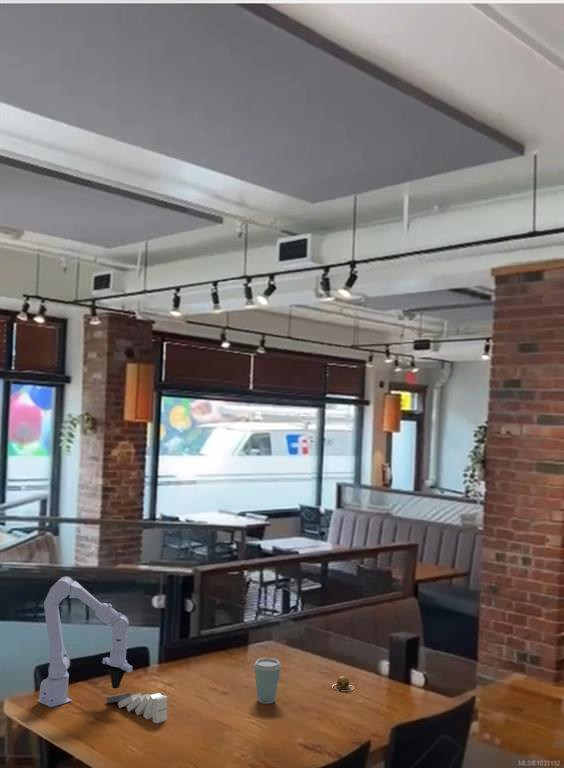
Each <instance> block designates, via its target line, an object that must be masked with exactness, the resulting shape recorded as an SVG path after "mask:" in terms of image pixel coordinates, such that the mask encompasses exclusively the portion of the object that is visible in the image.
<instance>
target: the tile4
mask: <svg viewBox="0 0 564 768" xmlns="http://www.w3.org/2000/svg"><path fill="white" fill-rule="evenodd" d="M154 694H156V693H155V692H154V693H151V694H149V695H147V696H145V697H144V699H143V700H142V701H141V703H140V704H139V706H138V707H137V708H136V710H134V712H135V713H136V716H140V715H144V712H145V709H146V706H147V703H148V700H149V697H150V696H151V695H154Z"/></svg>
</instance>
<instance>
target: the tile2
mask: <svg viewBox="0 0 564 768" xmlns="http://www.w3.org/2000/svg"><path fill="white" fill-rule="evenodd" d="M142 695H143V694H142V692H139V693H135V694H132V695H131V696H130V697H128V698H126V699H124V700H122V701H118V702H117V705H118V707H119V709H122V708H124V707H126V706H128V705H129V704H130V703H131V702H133V701H134V700H135V699H136V698H138V697H139V696H142Z"/></svg>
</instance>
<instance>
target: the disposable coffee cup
mask: <svg viewBox="0 0 564 768" xmlns="http://www.w3.org/2000/svg"><path fill="white" fill-rule="evenodd" d="M253 668H254V674H255V675H254V676H255V685H256V696H257V697H256V698H257V702H259V703H260V704H265V705H267V704H273V703H275V700H276V695H277V691H278V690H277V689H278V684H279V679H280V673H281V672H280V671H281V669H282V667H281V663H280V660H278V659H276V658H273V657H262V658H258V659H257V660H255V662H254V663H253Z"/></svg>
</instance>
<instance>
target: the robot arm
mask: <svg viewBox="0 0 564 768" xmlns="http://www.w3.org/2000/svg"><path fill="white" fill-rule="evenodd" d="M68 596H69V597H68ZM67 597H68V598H69V599H78V600H80V601H81V602H82V603H84V604H86V605H87V606H88V607H89V608H91V610H94V613H95V617H96V618H98V619H99V620H101V622H103V623H105V624H104V625H107V626H108V627H110V628H111V631H112V635H111V638H110V639H111V641H110V655H109V657H107V656H106V657H103V658H102V664H103V665H108V666H110V667H108V668H107V672H108V674H109V677H110V680H111V686H112V687H111V688H112V689H115V690H116V689H119V688H120V685H121V682H122V680H123V677H124V675H125V673H126V672H127V673H132V672H133V665H131V664H129V663H128V660H127V658H126V657H127V647H128V629H129V624H130V623H129V622H130V621H129V618H128V617H127V616H126V615H124V614H122V612H118V611H117V610H115V609H114V608H113V605H112V604H111V603H106V602H100V601H99V600H98V599H97V598H96V597H94V595H92V594H91V593H90V592H89V591H88V590H87V589H86V588H84V587H83V586H82V585H81V584H80V583H79V582H78V581H76V580H73V578H72V577H70V576H62V577H60V579H58V580H57V581H56V582H55V583H54V584H53V585H52V586H51V587H50V588H49V591H48V593H47V595H46V597H45V600H44V602H43V607H44V608H43V609H44V616H45V623H46V630H47V637H48V645H49V650H50V651H49V652H50V653H49V666H48V676H47V677H46V678H45V679H43V680H42V681H41V682H40V686H39V697H38V700H37V702H38V703H40V704H42V705H45V706H47V707H49V708H53V707H56V706H60V705H64V704H67V703H71V702H73V699H72V698H69V697H68V691H69V678H70V674H69V672H68V670H69V668H70V666H71V660H70V659H71V658H70V657H69V656H68V654H67V650H66V647H65V644H64V643H65V642H64V637H63V630H62V629H63V628H62V622H61V615H60V608H59V605H60V603H61V602H62V601H63V600H65V598H67Z"/></svg>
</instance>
